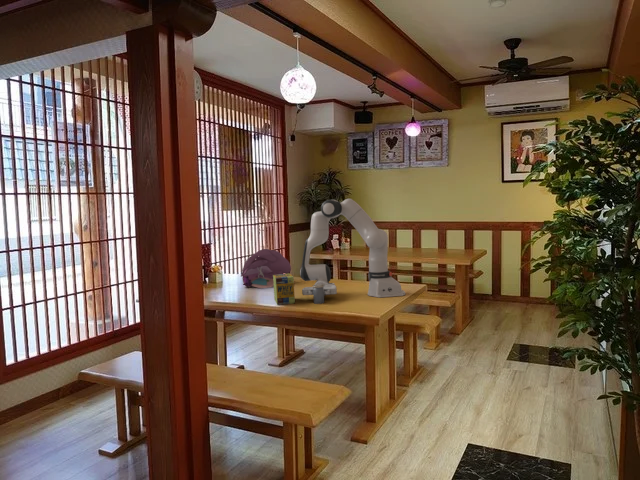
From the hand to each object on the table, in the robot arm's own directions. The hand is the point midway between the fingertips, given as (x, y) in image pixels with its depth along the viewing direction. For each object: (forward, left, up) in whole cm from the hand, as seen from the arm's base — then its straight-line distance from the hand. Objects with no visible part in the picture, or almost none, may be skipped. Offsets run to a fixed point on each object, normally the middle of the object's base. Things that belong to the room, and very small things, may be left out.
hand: (318, 293), depth 283 cm
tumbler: (0, -1, -6) cm, 6 cm away
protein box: (+21, -7, -6) cm, 23 cm away
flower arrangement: (+45, -63, -6) cm, 77 cm away
